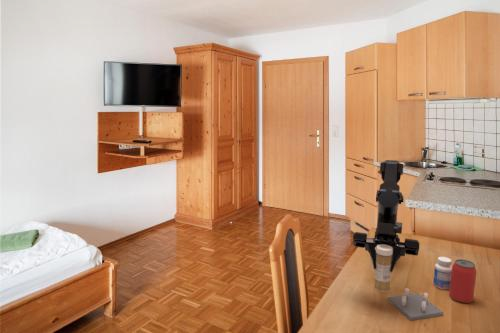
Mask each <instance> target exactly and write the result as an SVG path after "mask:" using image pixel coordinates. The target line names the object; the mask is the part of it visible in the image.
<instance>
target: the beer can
mask: <svg viewBox="0 0 500 333" xmlns="http://www.w3.org/2000/svg"><path fill="white" fill-rule="evenodd" d="M451 266H452V273H451V282H450V289H449V292H448V294H449V297H450V298H451V299H453V300H454V301H456V302H458V303H459V302H460V303H462V304H463V303H464V304H467V303H472V302H473V300H474V296H475V286H476V281H477V278H476V277H477V269H476V264H475V263H474V262H472V261H470V260H467V259H463V258H462V259H455V260H454V263H453V264H452V265H451Z"/></svg>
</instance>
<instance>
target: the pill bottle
mask: <svg viewBox="0 0 500 333" xmlns="http://www.w3.org/2000/svg"><path fill="white" fill-rule="evenodd" d="M434 264H435V265H434V272H433V285H434V287H436V288H438V289H440V290H450V282H451V273H452V266H453V265H452V259H451V258H449V257H447V256H438V257H437V263H434Z"/></svg>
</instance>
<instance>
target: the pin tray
mask: <svg viewBox="0 0 500 333" xmlns="http://www.w3.org/2000/svg"><path fill="white" fill-rule="evenodd" d="M387 301H388V302H389V303H390V304H391V305H392V306H394V307H395V308H396V309H397V310H398V311H399V312H400V313H402V315H403V316H405V317H406V318H407V319H408V320H409V321H417V320H422V319H427V318H434V317H441V316H444V311H443V310H441V309H440V308H439V307H437V306H436V305H434V304H433V303H432V302H431V301H429V293H428V292H424V293H423V295H421V294H420V293H418V292H415V293H410V289H409V288H408V287H405V288H404V294H400V295H395V296H394V295H393V296H388V297H387Z"/></svg>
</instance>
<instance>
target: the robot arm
mask: <svg viewBox="0 0 500 333" xmlns="http://www.w3.org/2000/svg"><path fill="white" fill-rule="evenodd" d="M379 174H381V175H380V176H381V180H382V182H383V183H381V184H379V189H377V191H376V195H375V196H376V197H375V202H377V210H378V211H377V220H376V228H375V232H374V237H369V236H368V234H367V232H366V233H365V232H358V231H355V232H354V233H353V237H352V241H353V242H352V243H353V246H354V247H356V248H362V249H364V250H365V251H367V252H368V253H369V256H370V259H371V263H372V266H373V270H375V269H376V255H377V254H376V247H377V245H380V244H385V245H389V246H391V247H392V248H393V254H392V258H391V273H393V271H394V269H395V267H396V264H397V263H398V262H399V260H400V259H401V257H405V255H409V256H418V255H419V252H420V242H419V240H418V239H412V238H405V239H404V242H402V241H401V238H400V237H399V234H400V235H401V234H402V232H403V222H399V221H398V222H397V220H398V209H399V205H401V204H402V203H404V195H403V192H401V191H400V190H401V189H400V187H401V186H400V185H399V184H398V183H399V182H400V181H401V178H402V176H403V175H404V164H403V163H401V162H400V161H399V160H392V159H387V160H384V161H383V162H380V164H379Z"/></svg>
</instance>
